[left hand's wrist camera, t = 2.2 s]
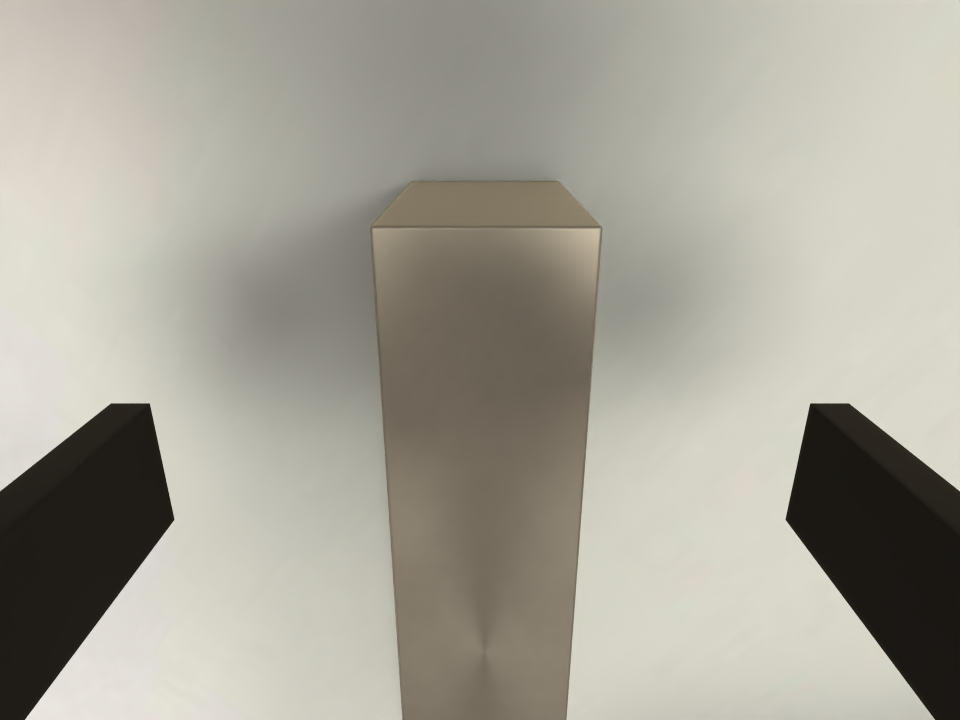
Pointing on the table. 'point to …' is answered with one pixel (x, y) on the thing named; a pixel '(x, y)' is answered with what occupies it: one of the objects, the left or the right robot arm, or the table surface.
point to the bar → (485, 438)
